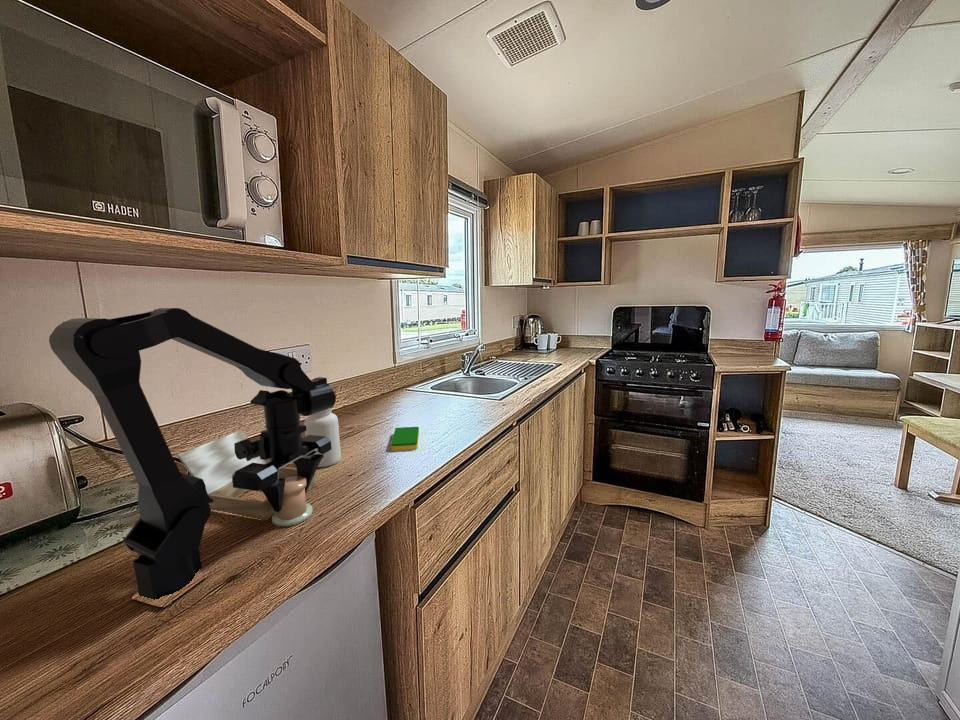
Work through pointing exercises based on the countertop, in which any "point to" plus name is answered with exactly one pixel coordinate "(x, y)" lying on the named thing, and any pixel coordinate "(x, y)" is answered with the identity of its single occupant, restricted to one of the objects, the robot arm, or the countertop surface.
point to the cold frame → (228, 476)
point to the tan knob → (293, 498)
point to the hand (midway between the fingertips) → (291, 501)
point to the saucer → (292, 521)
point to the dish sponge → (405, 439)
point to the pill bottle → (325, 434)
